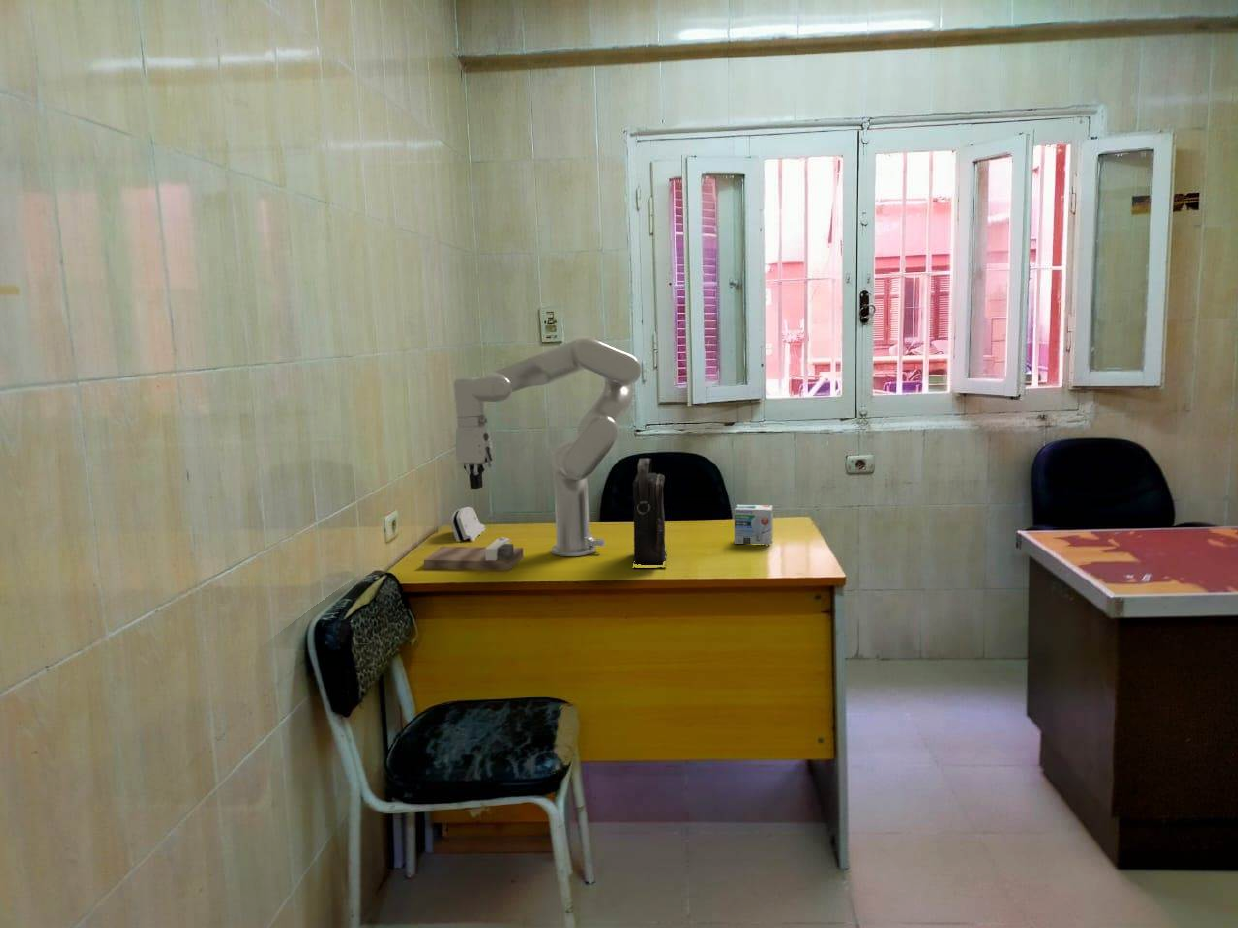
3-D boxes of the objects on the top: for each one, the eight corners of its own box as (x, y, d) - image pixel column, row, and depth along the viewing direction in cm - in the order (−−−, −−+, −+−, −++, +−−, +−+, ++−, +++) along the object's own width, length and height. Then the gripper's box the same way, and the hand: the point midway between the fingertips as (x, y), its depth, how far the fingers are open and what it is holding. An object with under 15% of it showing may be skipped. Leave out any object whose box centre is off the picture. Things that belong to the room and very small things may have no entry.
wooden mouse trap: (523, 556, 248) (522, 537, 247) (508, 570, 234) (507, 550, 233) (442, 555, 252) (441, 536, 251) (424, 568, 238) (422, 549, 237)
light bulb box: (734, 545, 254) (733, 508, 252) (736, 539, 260) (736, 504, 259) (771, 546, 251) (771, 509, 250) (773, 540, 258) (773, 504, 256)
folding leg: (499, 548, 247) (498, 536, 246) (509, 548, 246) (508, 536, 246) (485, 560, 235) (485, 547, 234) (496, 560, 234) (495, 548, 234)
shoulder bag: (635, 548, 254) (632, 452, 249) (666, 547, 253) (664, 452, 249) (631, 569, 231) (628, 465, 227) (665, 569, 231) (663, 464, 226)
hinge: (472, 542, 267) (460, 511, 265) (458, 547, 267) (446, 517, 266) (486, 529, 283) (474, 501, 282) (473, 534, 284) (461, 506, 283)
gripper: (501, 420, 237) (506, 487, 240) (459, 420, 245) (465, 484, 248) (483, 424, 231) (489, 492, 234) (441, 423, 239) (447, 489, 242)
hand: (476, 488), depth 241 cm, fingers closed
